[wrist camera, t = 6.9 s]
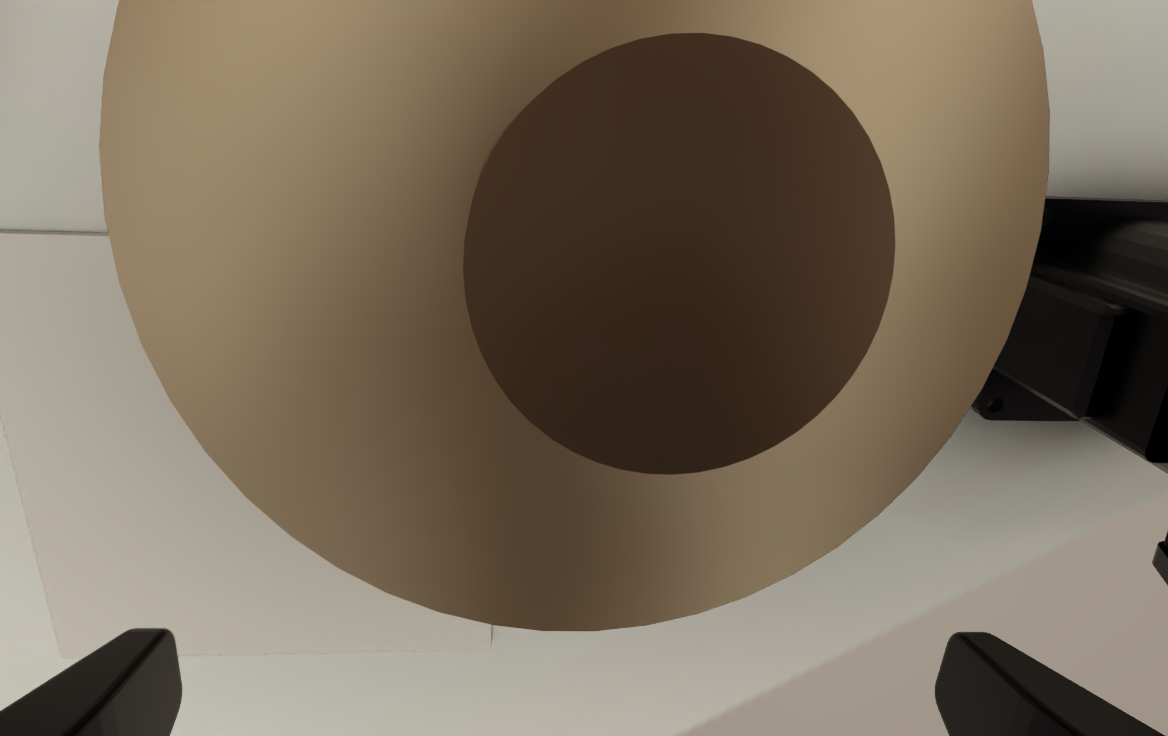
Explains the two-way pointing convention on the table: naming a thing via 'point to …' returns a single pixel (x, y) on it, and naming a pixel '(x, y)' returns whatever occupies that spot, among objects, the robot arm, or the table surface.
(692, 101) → the lid
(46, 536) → the mat
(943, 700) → the robot arm
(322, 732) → the table surface
